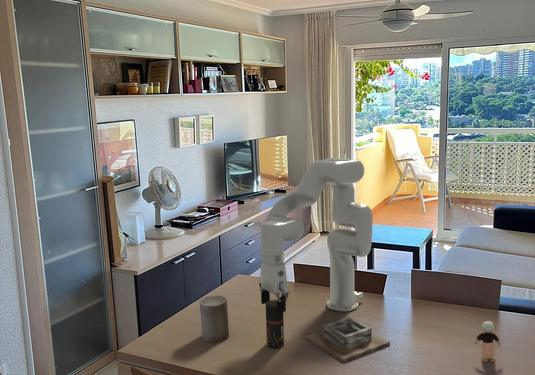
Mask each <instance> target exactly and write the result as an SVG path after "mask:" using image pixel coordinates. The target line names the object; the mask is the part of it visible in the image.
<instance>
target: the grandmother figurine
mask: <svg viewBox="0 0 535 375" xmlns="http://www.w3.org/2000/svg"><path fill="white" fill-rule="evenodd" d="M494 328H495V327H494V324H493V322H492V321H489V320H487V321H484V322H483V323H482V330H483V331H484V332H481V333H480V334H478V335H477V336H476V339H475V340H474V344H475V345H478V344H479V342H480V341H481V356H480V360H481V361H482V362H485V363H486V362H488V361H490V362H492V363H494V362H496V357H495V354H496V353H495V352H496V351H495V342H496V344H497V346H498V347H501V345H502V343H501V341H500V338H499V337H498V336H497V335H496V334H495V333H493V330H494ZM494 341H495V342H494Z"/></svg>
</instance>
